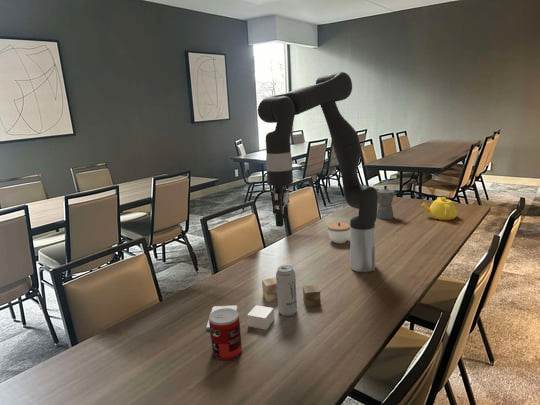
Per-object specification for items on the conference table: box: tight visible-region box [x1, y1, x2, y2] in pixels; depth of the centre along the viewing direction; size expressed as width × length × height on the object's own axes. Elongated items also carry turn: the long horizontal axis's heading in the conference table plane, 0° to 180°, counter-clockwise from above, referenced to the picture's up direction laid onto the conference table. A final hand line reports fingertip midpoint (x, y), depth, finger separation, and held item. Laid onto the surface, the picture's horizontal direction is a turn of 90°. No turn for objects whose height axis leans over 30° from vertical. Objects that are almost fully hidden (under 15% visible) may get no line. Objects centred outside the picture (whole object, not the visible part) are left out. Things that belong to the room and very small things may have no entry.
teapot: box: [421, 196, 458, 221], centre depth 206 cm, size 20×18×11 cm
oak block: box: [261, 276, 278, 303], centre depth 131 cm, size 5×5×6 cm
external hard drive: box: [205, 305, 238, 331], centre depth 120 cm, size 2×8×12 cm
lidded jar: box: [327, 222, 350, 244], centre depth 180 cm, size 11×11×9 cm
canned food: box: [208, 308, 243, 361], centre depth 102 cm, size 8×8×11 cm
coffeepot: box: [375, 185, 398, 220], centre depth 213 cm, size 15×9×18 cm, turn 44°
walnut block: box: [302, 284, 322, 308], centre depth 126 cm, size 5×5×5 cm
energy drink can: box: [275, 264, 298, 317], centre depth 120 cm, size 6×6×15 cm
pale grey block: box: [247, 304, 275, 330], centre depth 116 cm, size 6×6×4 cm
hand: (282, 222), depth 114 cm, fingers open, 7 cm apart
